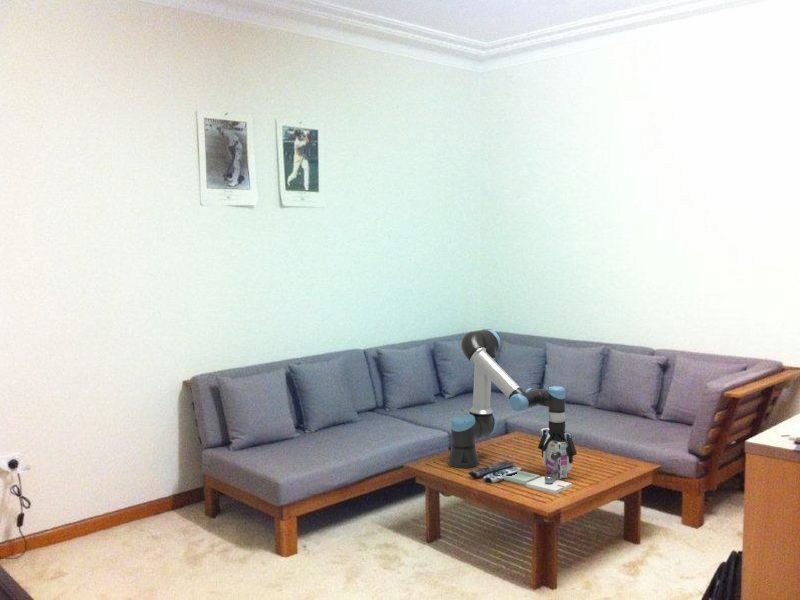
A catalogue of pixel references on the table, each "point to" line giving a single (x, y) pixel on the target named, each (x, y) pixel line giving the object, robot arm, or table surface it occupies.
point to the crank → (554, 476)
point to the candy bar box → (562, 461)
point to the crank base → (549, 485)
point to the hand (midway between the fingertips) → (557, 467)
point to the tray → (520, 477)
